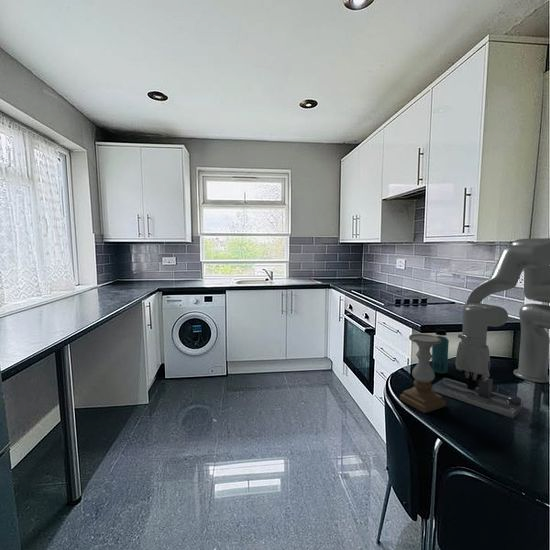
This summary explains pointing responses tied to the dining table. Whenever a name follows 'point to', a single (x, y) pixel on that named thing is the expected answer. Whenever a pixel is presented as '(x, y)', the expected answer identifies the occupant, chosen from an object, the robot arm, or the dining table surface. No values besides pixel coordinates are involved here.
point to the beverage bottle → (440, 353)
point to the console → (479, 397)
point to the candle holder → (423, 377)
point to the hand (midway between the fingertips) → (471, 388)
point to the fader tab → (485, 387)
